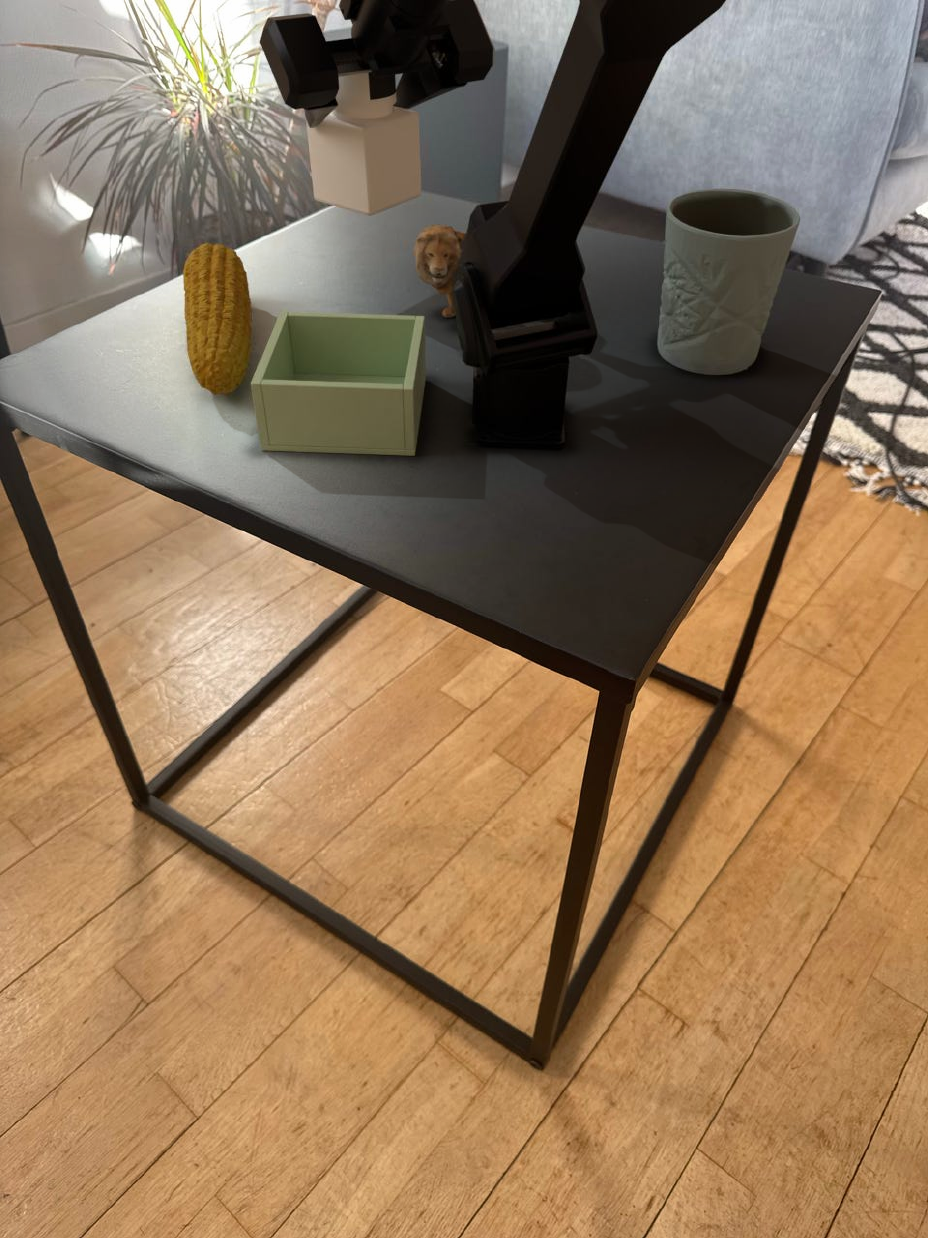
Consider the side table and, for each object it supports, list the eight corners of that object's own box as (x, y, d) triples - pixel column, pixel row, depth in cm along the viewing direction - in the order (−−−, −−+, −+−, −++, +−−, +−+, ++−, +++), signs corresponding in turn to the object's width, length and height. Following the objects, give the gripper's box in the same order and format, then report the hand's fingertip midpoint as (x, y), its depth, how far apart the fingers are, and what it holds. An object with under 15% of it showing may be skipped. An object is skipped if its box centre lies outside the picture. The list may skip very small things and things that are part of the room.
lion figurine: (429, 344, 82) (428, 241, 76) (405, 319, 85) (402, 218, 79) (574, 313, 87) (584, 213, 81) (545, 290, 90) (553, 193, 84)
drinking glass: (781, 345, 83) (818, 205, 75) (737, 393, 77) (772, 246, 68) (675, 315, 87) (699, 178, 79) (625, 358, 81) (645, 215, 72)
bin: (425, 378, 78) (424, 315, 74) (414, 456, 69) (413, 389, 66) (288, 374, 78) (280, 310, 74) (260, 450, 70) (250, 383, 66)
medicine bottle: (366, 181, 90) (356, 36, 82) (423, 196, 87) (418, 46, 79) (313, 201, 86) (296, 49, 78) (370, 217, 83) (359, 61, 75)
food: (188, 299, 88) (176, 234, 84) (249, 294, 89) (240, 230, 85) (193, 415, 73) (178, 343, 69) (267, 407, 74) (257, 336, 70)
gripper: (477, -129, 72) (409, 17, 86) (250, -118, 64) (217, 41, 79) (533, 7, 72) (456, 131, 87) (313, 34, 65) (269, 165, 79)
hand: (353, 115), depth 83 cm, fingers closed on medicine bottle, 8 cm apart
